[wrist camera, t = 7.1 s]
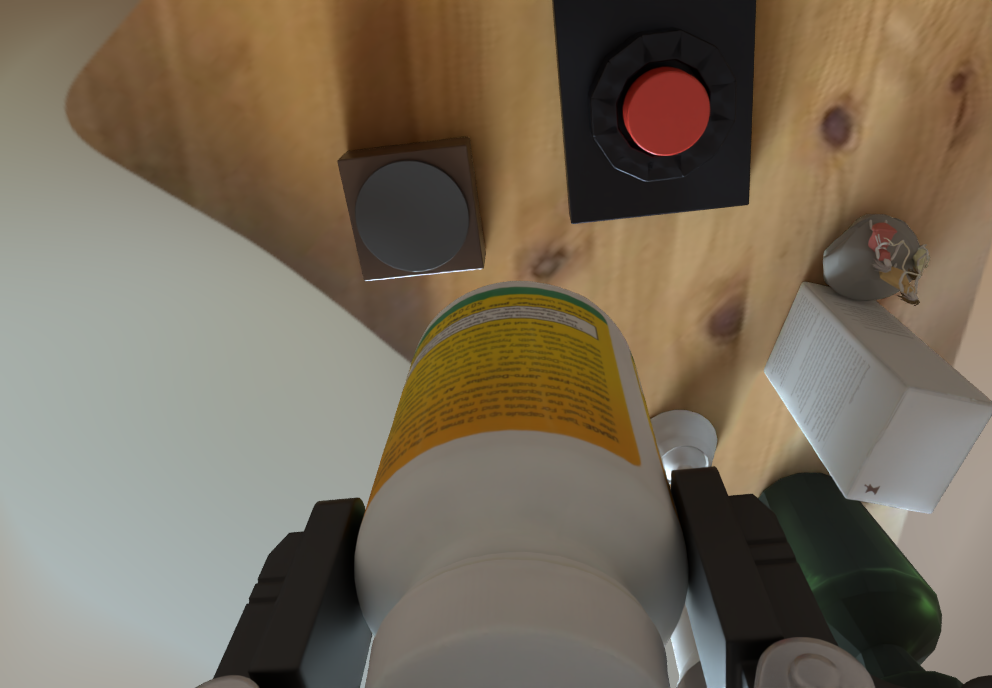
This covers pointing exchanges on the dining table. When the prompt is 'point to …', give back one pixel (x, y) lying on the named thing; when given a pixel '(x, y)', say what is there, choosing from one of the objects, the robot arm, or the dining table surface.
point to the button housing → (606, 80)
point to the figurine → (875, 260)
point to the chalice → (681, 447)
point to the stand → (414, 208)
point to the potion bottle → (860, 580)
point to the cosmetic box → (874, 400)
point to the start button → (666, 110)
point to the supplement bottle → (521, 507)
